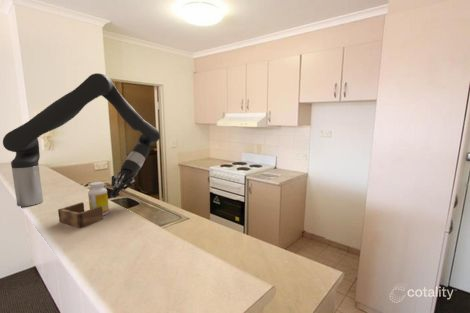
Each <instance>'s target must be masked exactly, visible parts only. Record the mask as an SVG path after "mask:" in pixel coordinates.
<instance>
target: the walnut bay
mask: <svg viewBox="0 0 470 313" xmlns="http://www.w3.org/2000/svg"><path fill="white" fill-rule="evenodd" d="M57 211H58V219H59V221H58V222H59V223H60V224H63V225H67V226H71V227H74V228H78V229H83V228H84V227H87V226H90V225H92V224H94V223H97V222H100V221H102V220H104V215H103V213H102V206H99V207H96V208H93V209H90V208H89V209H88V210H85V203H84V202H79V203H75V204H71V205H68V206H65V207H63V208H62V207H61V208H59V209H57Z"/></svg>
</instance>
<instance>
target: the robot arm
mask: <svg viewBox="0 0 470 313" xmlns="http://www.w3.org/2000/svg"><path fill="white" fill-rule="evenodd" d="M101 96H102V98H104V99H105V100H107V101H108V102H109V103H110V104H111V105H112V107H113V108H114V109H115V110H116V111H117V113H118V115H120V117H121V118H122V120H124V122H125V123H126V124H127V125H128V126H129V128H130V127H131V129H132V130H133V131H136V132H137V131H139V132H140V134H141V135H140V136H139V138H138V140H137V142H136V145H135V146H134V147H133V149H132V151H131V152H130V153H129V154H128V155H127V157H126V158H125V160H124V161H123V163H122V165H121V166H120V171H119V172H118V173H117V175H112V176H111V183H110V184H111V186H112V187H113V188H112V189H111V192H110V194H109V196H110V198H112V199H113V198H114V199H115V198H117V196H118V195H119V193H120V192H121V191H122V190H124V191H125V190H127V189H128V188H129V187H131V186H132V185H133V184H135V183H136V180H135V179H134V178H135V177H136V176H137V175H138V174H139V171H140V170H141V168H142V167H143V166H144V163H145V160H146V158H148V155H149V154H150V149H151V147H152V146H153V145H154V143H157V142H158V141H159V140H160V139H161V134H160V132H159V130H158V129H157V128H156V127H154V125H152V124H150V123H149V122H148V121H146V120H145V119H144V118H143V117H142V116H141V115H140V114H139V112H138V111H136V110H135V108H134V107H133V106H132V105H131V104H130V103H129V102H128V101H127V100H126V99H125V97H123V95H122V94H121V93H120V92H119V89H117V87H116V85H115V84H114V83H113V81H112V79H111V78H110V77H109V76H107V75H106V74H103V73H99V72H98V73H93V74H91V75H89V76H88V77H87V78H85V80H84V81H83V82H82V83H80V84H79V85H78V86H77V87H76V88H74V89H73V90H71V91H69V92H68V93H66V94H64V95H63V96H61V97H60V98H58V99H57V100H55V101H54V102H52V103H50V105H48V106H47V107H45V108H43V110H41V111H40V112H39V113H37V114H36V115H35V116H33V117H32V118H31V119H29V120H28V121H27V122H25V123H23V124H21V125H20V126H17V127H16V128H14V129H12V130H10V131H9V132H7V133H6V134H5V135H4V137H3V138H2V145H3V147H4V149H6V150H7V151H10V152H12V153H15V157H13V158H14V159H12V160H11V161H10V165H11V172H12V178H13V180H12V181H13V184H14V186H13V187H14V192H15V199H16V200H15V201H16V206H17V207H21V208H22V207H31V206H35V204H36V205H38V204H41V203H43V202H44V196H43V195H44V194H43V187H42V181H41V174H40V173H41V172H40V166H39V160H40V158H41V157H40V155H41V154H40V144H39V143H40V142H39V139H38V138H39V137H41V136H43V135H45V134H46V133H49V132H51V131H53V130H55V129H58V128H60V127H62V126H63V125H65V124H66V123H68V122H70V120H72V119H74V118H75V117H76V116H77V115H78V114H79V113H80V112H81V111H82V110H83V109H84V108H85V107H86V106H87V105H88V104H89V103H91V102H92V101H93V100H94V101H95V99H97V98H99V97H101ZM30 205H31V206H30Z"/></svg>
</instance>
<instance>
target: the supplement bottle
mask: <svg viewBox="0 0 470 313" xmlns="http://www.w3.org/2000/svg"><path fill="white" fill-rule="evenodd" d="M104 183H105V182H103V181H94V182H91V183H89V186H90V189H89V190H88V191H87V194H88V203H89V210H90V209H93V208H96V207H99V206H102V213H103V216H106V215H107V214H108V213H109V212H110V207H109V206H110V205H109V194H108V190H107V188H106V187H104V186H105V184H104Z"/></svg>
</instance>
